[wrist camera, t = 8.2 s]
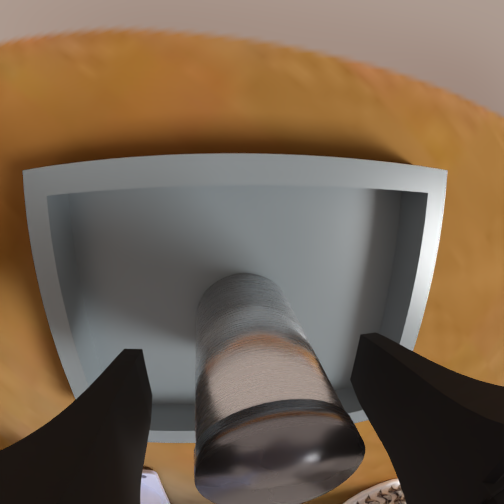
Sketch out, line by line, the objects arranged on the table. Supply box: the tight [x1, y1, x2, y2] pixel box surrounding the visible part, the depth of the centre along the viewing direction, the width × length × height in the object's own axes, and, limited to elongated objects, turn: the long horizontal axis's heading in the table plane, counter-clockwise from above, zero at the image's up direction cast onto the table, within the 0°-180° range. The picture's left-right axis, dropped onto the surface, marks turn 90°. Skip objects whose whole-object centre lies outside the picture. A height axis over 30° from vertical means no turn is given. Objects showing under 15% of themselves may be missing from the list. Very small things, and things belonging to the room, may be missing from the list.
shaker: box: [194, 273, 365, 504], centre depth 10 cm, size 4×4×8 cm
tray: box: [23, 153, 447, 443], centre depth 13 cm, size 16×13×2 cm
